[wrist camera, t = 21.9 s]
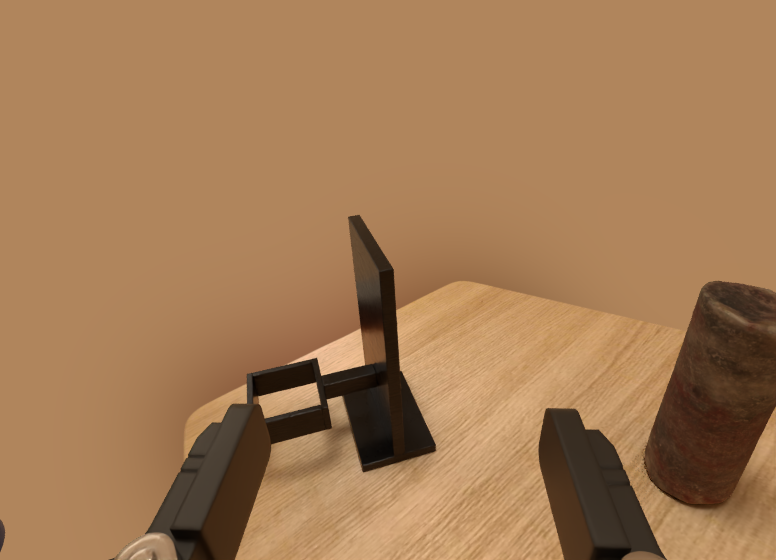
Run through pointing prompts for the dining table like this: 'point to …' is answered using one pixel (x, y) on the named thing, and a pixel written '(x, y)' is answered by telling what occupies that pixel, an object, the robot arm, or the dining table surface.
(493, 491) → the dining table surface
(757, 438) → the candle
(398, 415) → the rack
